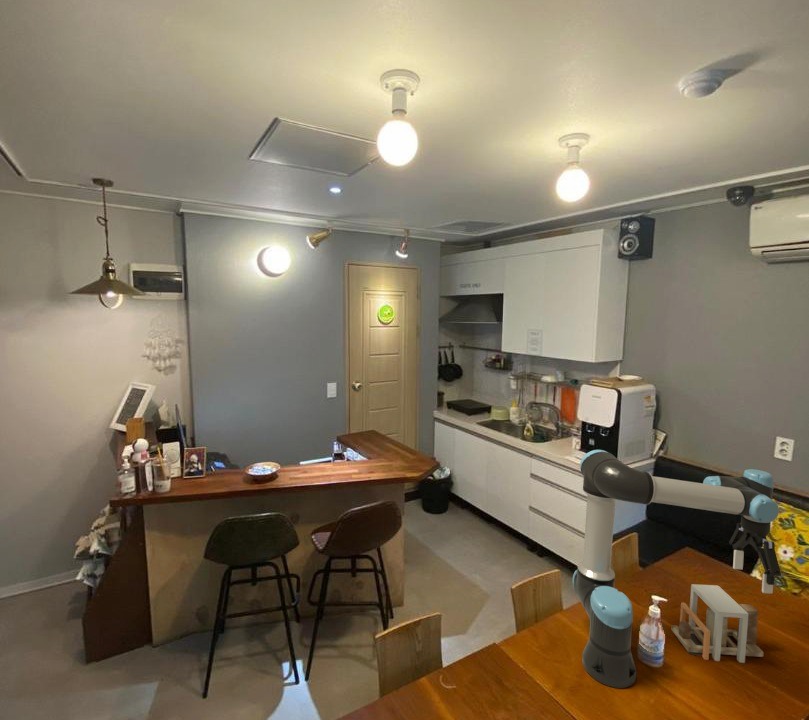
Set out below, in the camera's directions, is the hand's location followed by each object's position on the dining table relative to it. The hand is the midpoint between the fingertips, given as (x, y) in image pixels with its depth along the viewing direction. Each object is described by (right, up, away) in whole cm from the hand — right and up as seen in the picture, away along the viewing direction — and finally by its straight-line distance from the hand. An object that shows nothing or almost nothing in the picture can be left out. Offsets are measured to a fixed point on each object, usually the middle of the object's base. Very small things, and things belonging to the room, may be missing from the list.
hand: (751, 580), depth 144 cm
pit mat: (-18, -23, +3) cm, 30 cm away
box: (-10, -23, +3) cm, 26 cm away
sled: (-10, -23, +3) cm, 26 cm away
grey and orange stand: (-12, -23, +3) cm, 26 cm away
